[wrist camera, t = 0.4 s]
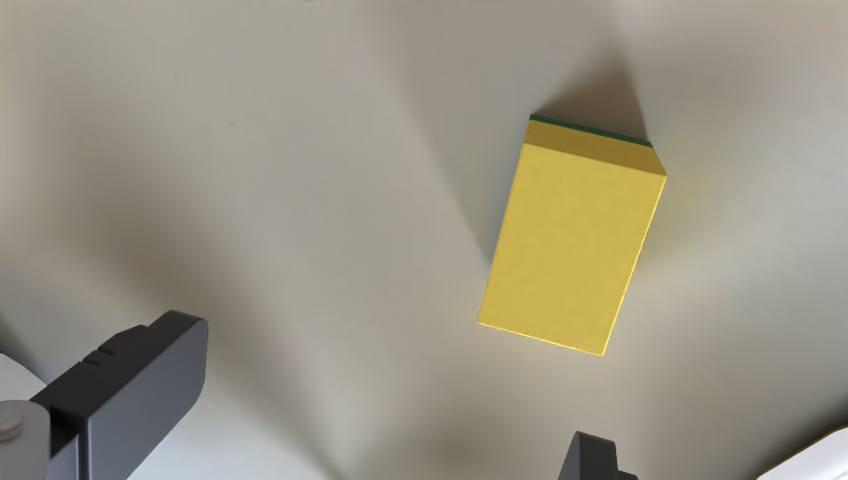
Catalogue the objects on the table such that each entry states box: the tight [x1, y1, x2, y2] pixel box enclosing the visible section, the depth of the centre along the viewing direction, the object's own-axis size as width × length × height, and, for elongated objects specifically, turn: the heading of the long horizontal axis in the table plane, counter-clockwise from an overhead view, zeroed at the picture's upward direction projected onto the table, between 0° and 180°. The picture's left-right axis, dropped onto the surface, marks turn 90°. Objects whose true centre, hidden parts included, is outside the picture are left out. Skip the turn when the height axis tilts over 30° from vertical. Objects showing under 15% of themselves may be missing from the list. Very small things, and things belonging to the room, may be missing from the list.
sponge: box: [477, 115, 667, 356], centre depth 26 cm, size 8×5×5 cm, turn 169°
